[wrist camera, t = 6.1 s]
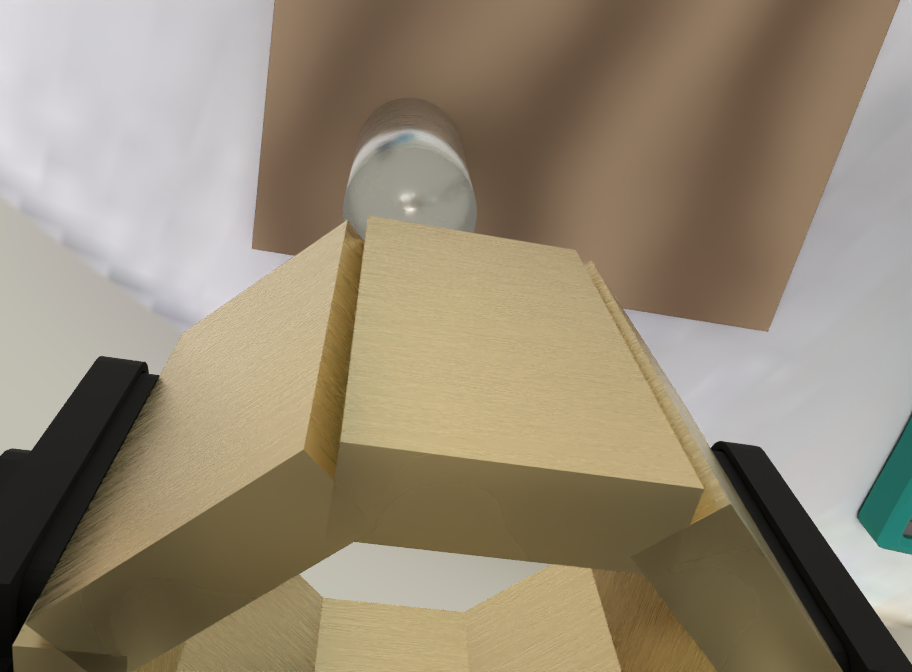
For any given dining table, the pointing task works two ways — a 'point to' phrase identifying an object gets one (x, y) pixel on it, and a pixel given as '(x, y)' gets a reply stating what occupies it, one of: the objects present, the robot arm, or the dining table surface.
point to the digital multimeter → (892, 500)
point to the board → (588, 128)
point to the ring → (418, 483)
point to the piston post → (410, 169)
